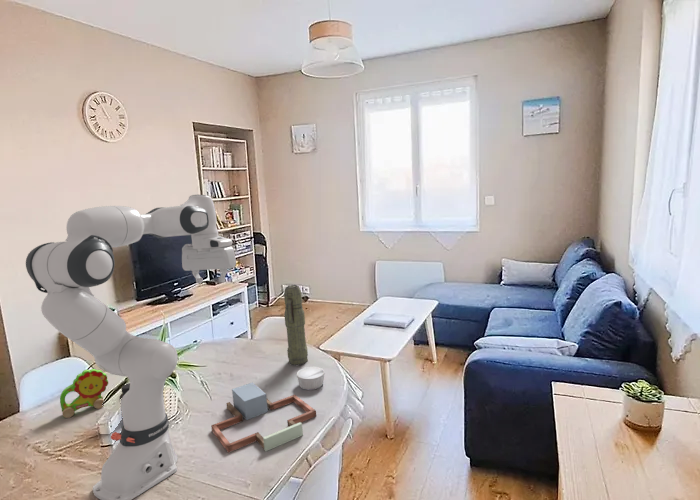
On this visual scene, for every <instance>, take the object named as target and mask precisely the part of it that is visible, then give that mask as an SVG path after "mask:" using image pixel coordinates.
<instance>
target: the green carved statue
mask: <svg viewBox="0 0 700 500" xmlns="http://www.w3.org/2000/svg"><path fill="white" fill-rule="evenodd" d="M283 297H284V299H283V300H284V306H285V307H284V310H285V311H284V313H283V315H284V325H285V327H286V336H287V359H288V364H289V365H290V366H294V365H295V366H296V365H298V366H302V365H305V364H307V363H308V361H309V360H308V359H309V358H308V356H309V354H308V346H307V343H306V332H305V325H306V318H305V311H304V308H303V298H302V291H301V289H300V285H299V286H298V285H297V284H291V285H287V286H286V287H284V292H283Z"/></svg>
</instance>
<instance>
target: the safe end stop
mask: <svg viewBox="0 0 700 500" xmlns="http://www.w3.org/2000/svg"><path fill="white" fill-rule="evenodd" d="M302 436H304V430H303V422H299V423H297V424H294V425H292V426H290V427H289V426H287V427H286V428H283V429H280V430H277V431H276V432H273V433H271V434H268V435H265V436H262V437H263V441H264V449H263V450H264V451H265V452H268V451H270V450H272V449H274V448H277V447H279V446H281V445H283V444H286V443H288V442H291V441H293V440H295V439H298V438H300V437H302Z"/></svg>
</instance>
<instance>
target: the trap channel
mask: <svg viewBox="0 0 700 500" xmlns="http://www.w3.org/2000/svg"><path fill="white" fill-rule="evenodd" d="M266 399H267V409H269V410H270V411H273V410H276V409H278V408H281V407H285V406H286V405H289V404H292V403H295V404H296V405H297V406H298V407H299V408H301V409H302V411H304V413H302V414H299V415H296V416H294V417H291V418H289V419H287V421H286V423H287V427H290V426H292V425H294V424H297V423H299V422H301V423H303V422H306V421H308V420H310V419H312V418H315V417H317V410H316V409H314V408H313V407H311V406H310V405H309V404H308V403H306V402H305V401H304V400H303V399H301V398H300V397H298V396H297V395H296V394H292V395H290V396H287V397H285V398H281V399H278V400H277V401H274V402H272V401H270V399H268V398H267V397H266ZM225 405H226V408H227V410H228V411H229V412H230V413H231V414H232V416H233V417H230V418H228V419H225V420H222V421H219V422H217V423H214V424H211V432H212V434H213V435H214V436H215V437H216V439H217V440H218V441H219V442H220V444H221V445H222V447H223V448H224V449H225V450H226V452H227V453H228V454H229V453H231V452H234V451H236V450H238V449H240V448H243V447H246V446H248V445H250V444H252V443H255V442H257V443H258V445H260V447H261V448H262V449H263V450H264V441H263V437H264V436H262V435H261V434H260V432H258V431H257V432H255V433H252V434H250V435H247V436H245V437H242V438H240V439H238V440H235V441H233V442H229V440H228V438H227V437H225V435H224V434H223V433H222V431H221V430H223V429H226V428H228V427H231V426H233V425H236V424H239V423H242V422H243V421H244V417H243V416H242V415H241V414H240V412H239V411H238V410H237V409H236V408H235V407H234V404H232V403H231V402H230V401H228V402H226V404H225Z"/></svg>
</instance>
